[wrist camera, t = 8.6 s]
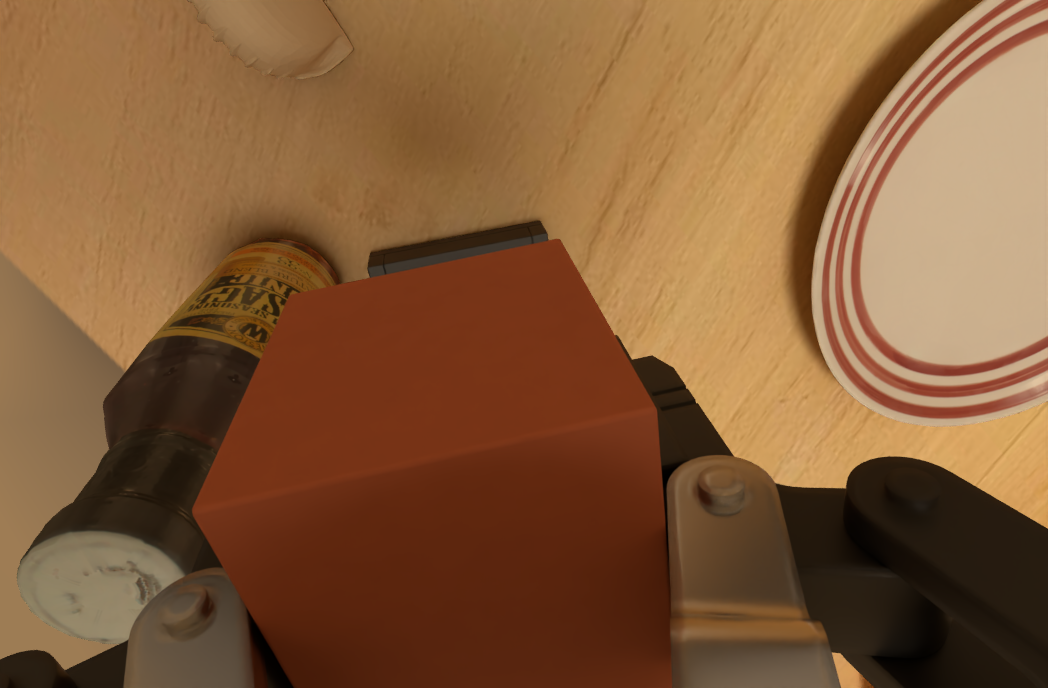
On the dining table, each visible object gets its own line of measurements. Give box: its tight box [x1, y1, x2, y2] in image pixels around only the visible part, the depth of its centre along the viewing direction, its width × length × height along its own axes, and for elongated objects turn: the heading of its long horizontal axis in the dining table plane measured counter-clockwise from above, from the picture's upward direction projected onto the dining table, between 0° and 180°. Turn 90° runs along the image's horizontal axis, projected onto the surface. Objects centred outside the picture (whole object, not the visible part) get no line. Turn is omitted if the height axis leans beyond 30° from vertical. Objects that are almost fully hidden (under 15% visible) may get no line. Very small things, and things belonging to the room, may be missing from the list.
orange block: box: [192, 239, 672, 688], centre depth 9 cm, size 4×6×5 cm
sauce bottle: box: [17, 238, 340, 644], centre depth 24 cm, size 7×6×20 cm
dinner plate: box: [811, 0, 1048, 427], centre depth 36 cm, size 27×27×3 cm
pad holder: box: [367, 221, 548, 278], centre depth 36 cm, size 9×17×2 cm, turn 8°
